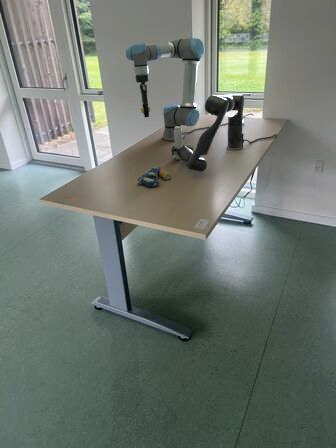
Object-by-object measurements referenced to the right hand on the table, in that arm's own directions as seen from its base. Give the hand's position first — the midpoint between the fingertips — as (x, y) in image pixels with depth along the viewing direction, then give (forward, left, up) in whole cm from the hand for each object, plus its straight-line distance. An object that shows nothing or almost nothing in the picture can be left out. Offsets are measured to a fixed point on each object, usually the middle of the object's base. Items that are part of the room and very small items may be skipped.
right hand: (177, 146), depth 210 cm
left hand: (+16, -6, +20) cm, 27 cm away
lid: (+16, -6, +25) cm, 30 cm away
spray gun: (+23, +29, -7) cm, 37 cm away
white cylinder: (0, +3, -7) cm, 7 cm away
